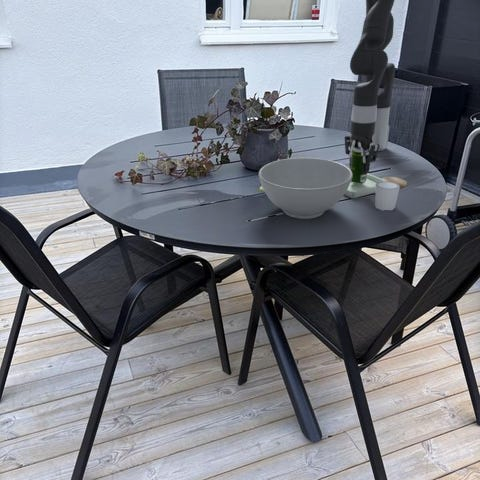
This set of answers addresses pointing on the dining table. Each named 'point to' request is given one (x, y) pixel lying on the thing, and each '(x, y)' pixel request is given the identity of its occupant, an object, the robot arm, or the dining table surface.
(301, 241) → the dining table surface
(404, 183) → the oak coaster
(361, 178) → the beer can
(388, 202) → the white cup
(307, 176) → the decorative bowl
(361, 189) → the tray
